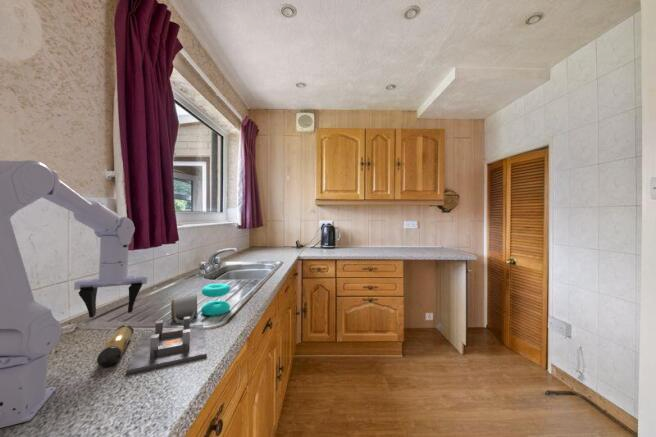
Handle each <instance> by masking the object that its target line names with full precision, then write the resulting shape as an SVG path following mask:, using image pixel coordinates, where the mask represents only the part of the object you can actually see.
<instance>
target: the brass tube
mask: <svg viewBox="0 0 656 437" xmlns="http://www.w3.org/2000/svg"><path fill="white" fill-rule="evenodd" d="M133 334H134V328H133V326H131V325H130V324H123V325H119V326H118V327H117V328H116V330H115V332H114V333H113V335H112V336H111V338H110V339H109V341H108V342H107V344H106V345H105V346H104V348H103V350H101V351H100V353H99V355H98V356H97V359H96V362H97V365H98V366H100V367H102V368H110V367H113V366H115V365H116V364H117V363H118V362H119V361H120V359H121V357H122V355H123V352H124V350H125V349H126V347H127V345H128V342H130V340H131V338H132V336H133Z"/></svg>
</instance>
